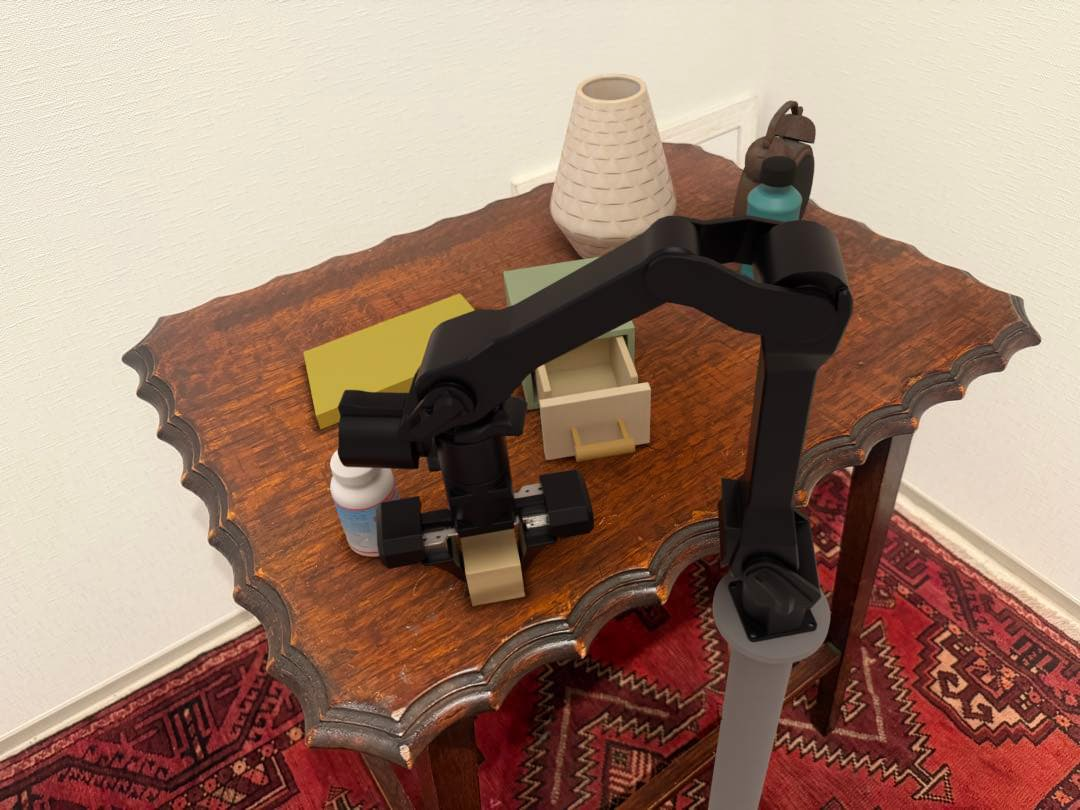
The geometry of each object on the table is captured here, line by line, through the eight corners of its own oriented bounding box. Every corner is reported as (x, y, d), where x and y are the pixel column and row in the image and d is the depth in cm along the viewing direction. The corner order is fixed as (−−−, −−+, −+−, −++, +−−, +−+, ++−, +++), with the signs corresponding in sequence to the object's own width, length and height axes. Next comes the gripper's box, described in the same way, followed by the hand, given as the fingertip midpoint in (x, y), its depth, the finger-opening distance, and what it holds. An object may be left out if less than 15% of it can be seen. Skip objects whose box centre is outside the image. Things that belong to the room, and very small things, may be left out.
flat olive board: (462, 306, 116) (289, 372, 108) (460, 293, 114) (284, 358, 107) (504, 354, 108) (320, 429, 100) (502, 341, 106) (315, 415, 99)
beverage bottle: (729, 316, 110) (744, 172, 97) (741, 287, 115) (756, 145, 101) (782, 325, 108) (803, 179, 95) (791, 295, 113) (813, 151, 99)
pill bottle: (398, 562, 85) (375, 486, 78) (339, 556, 86) (311, 480, 79) (415, 515, 90) (395, 438, 82) (359, 509, 91) (334, 433, 83)
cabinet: (634, 392, 101) (634, 327, 94) (528, 410, 100) (520, 345, 94) (607, 318, 112) (605, 255, 105) (510, 334, 111) (502, 271, 104)
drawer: (660, 471, 90) (662, 417, 85) (553, 490, 90) (548, 436, 84) (620, 364, 103) (620, 311, 98) (526, 379, 103) (521, 327, 97)
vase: (662, 286, 116) (668, 122, 100) (538, 272, 120) (524, 113, 105) (684, 218, 128) (691, 62, 112) (570, 208, 132) (562, 57, 117)
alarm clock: (774, 278, 115) (793, 137, 102) (723, 264, 119) (736, 125, 105) (813, 226, 124) (836, 89, 111) (765, 215, 127) (781, 80, 114)
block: (525, 596, 81) (520, 564, 78) (472, 606, 81) (465, 574, 78) (517, 554, 85) (512, 522, 82) (466, 563, 85) (460, 531, 81)
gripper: (567, 379, 78) (574, 494, 89) (360, 413, 77) (393, 525, 87) (592, 467, 70) (597, 582, 81) (362, 507, 69) (398, 618, 79)
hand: (494, 573), depth 82 cm, fingers closed on block, 5 cm apart
